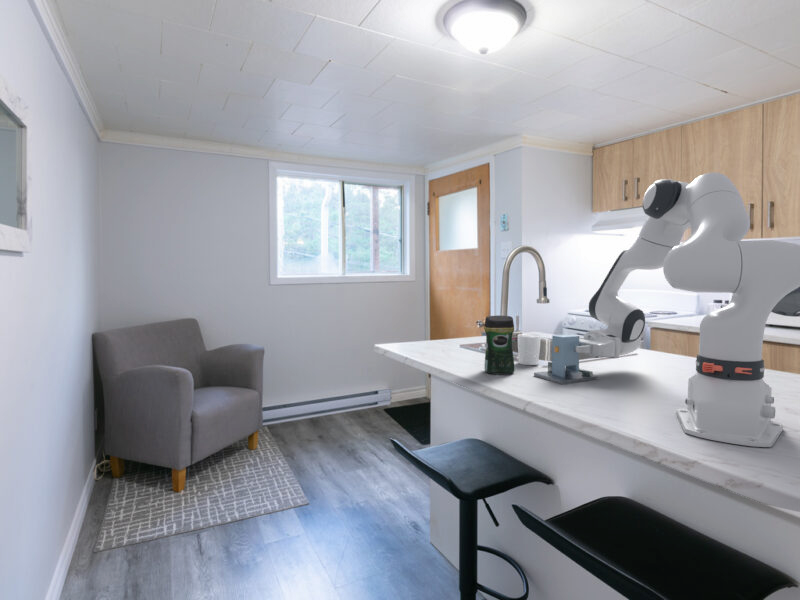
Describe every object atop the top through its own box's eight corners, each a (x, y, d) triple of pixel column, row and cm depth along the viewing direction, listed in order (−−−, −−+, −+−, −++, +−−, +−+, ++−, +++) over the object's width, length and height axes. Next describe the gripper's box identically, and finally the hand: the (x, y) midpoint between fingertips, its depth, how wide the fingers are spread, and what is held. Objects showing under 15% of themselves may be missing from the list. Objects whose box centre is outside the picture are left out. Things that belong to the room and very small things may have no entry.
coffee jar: (512, 369, 155) (512, 314, 154) (515, 375, 147) (516, 316, 146) (483, 369, 156) (483, 314, 155) (485, 374, 148) (485, 316, 147)
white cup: (544, 363, 166) (544, 335, 165) (533, 366, 160) (534, 337, 159) (524, 360, 171) (524, 333, 170) (513, 363, 165) (513, 335, 165)
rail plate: (597, 379, 141) (597, 366, 141) (561, 384, 135) (562, 370, 135) (567, 371, 152) (568, 359, 152) (534, 375, 146) (534, 363, 146)
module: (578, 374, 143) (579, 335, 142) (560, 377, 140) (561, 337, 139) (567, 371, 147) (568, 334, 146) (550, 374, 144) (550, 335, 143)
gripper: (572, 330, 158) (540, 332, 152) (624, 338, 139) (589, 341, 133) (572, 348, 158) (540, 352, 152) (623, 359, 139) (589, 363, 134)
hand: (563, 347), depth 143 cm, fingers open, 8 cm apart
